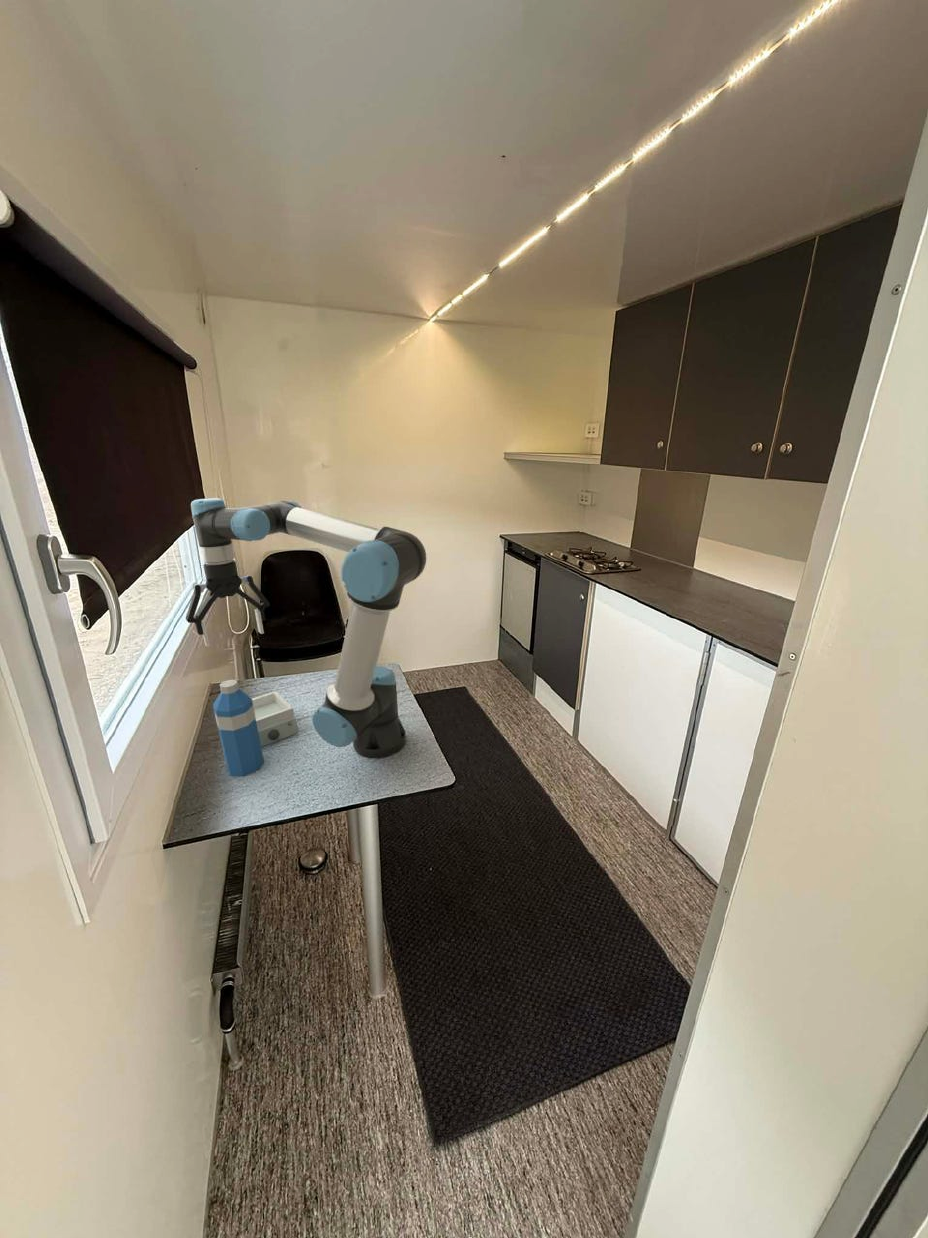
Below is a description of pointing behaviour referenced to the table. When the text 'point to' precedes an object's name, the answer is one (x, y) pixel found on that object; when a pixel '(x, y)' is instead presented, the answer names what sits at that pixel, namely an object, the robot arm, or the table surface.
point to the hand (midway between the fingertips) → (235, 638)
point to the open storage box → (273, 718)
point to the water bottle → (238, 730)
